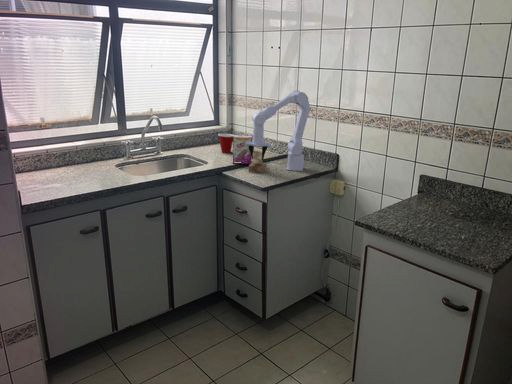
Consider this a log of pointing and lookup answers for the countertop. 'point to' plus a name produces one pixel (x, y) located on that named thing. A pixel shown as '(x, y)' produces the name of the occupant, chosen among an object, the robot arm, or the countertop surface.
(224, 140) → the plastic cup
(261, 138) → the robot arm
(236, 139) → the candy bar box
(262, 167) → the walnut block
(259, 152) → the maple block
